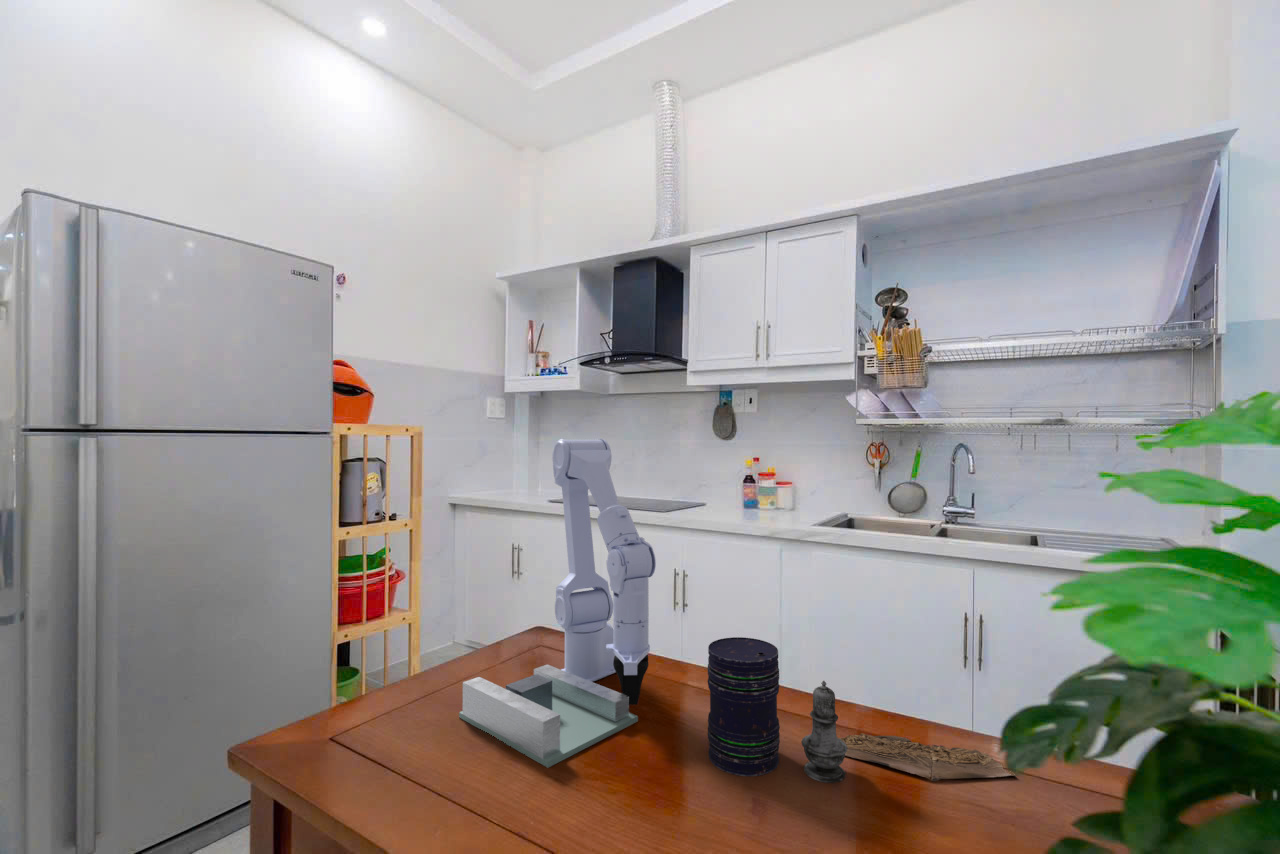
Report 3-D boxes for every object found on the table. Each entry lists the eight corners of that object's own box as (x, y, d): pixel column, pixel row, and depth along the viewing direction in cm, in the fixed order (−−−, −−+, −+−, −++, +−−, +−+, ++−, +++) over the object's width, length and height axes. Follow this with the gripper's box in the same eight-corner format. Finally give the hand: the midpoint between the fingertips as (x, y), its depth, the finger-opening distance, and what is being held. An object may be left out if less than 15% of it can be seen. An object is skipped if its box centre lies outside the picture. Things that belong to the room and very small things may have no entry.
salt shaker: (823, 788, 76) (823, 693, 77) (792, 766, 82) (791, 676, 82) (857, 777, 79) (857, 684, 79) (824, 755, 84) (824, 669, 84)
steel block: (536, 704, 99) (536, 674, 99) (552, 712, 96) (552, 680, 96) (505, 717, 94) (505, 685, 94) (521, 725, 91) (521, 692, 92)
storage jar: (693, 757, 84) (692, 649, 84) (733, 732, 91) (733, 632, 91) (755, 785, 77) (754, 667, 77) (793, 756, 84) (792, 648, 84)
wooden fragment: (1007, 758, 84) (1007, 750, 84) (1025, 802, 74) (1025, 793, 74) (815, 727, 93) (815, 720, 93) (807, 763, 83) (807, 755, 83)
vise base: (547, 683, 109) (547, 650, 109) (637, 721, 95) (637, 683, 95) (459, 717, 96) (459, 680, 96) (547, 767, 81) (547, 724, 81)
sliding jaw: (547, 681, 108) (547, 664, 108) (628, 715, 95) (628, 696, 95) (533, 686, 106) (533, 669, 106) (615, 722, 92) (615, 702, 92)
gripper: (608, 606, 105) (608, 684, 105) (603, 633, 91) (603, 724, 91) (648, 606, 105) (648, 684, 105) (650, 632, 91) (651, 724, 91)
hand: (631, 703), depth 98 cm, fingers closed
